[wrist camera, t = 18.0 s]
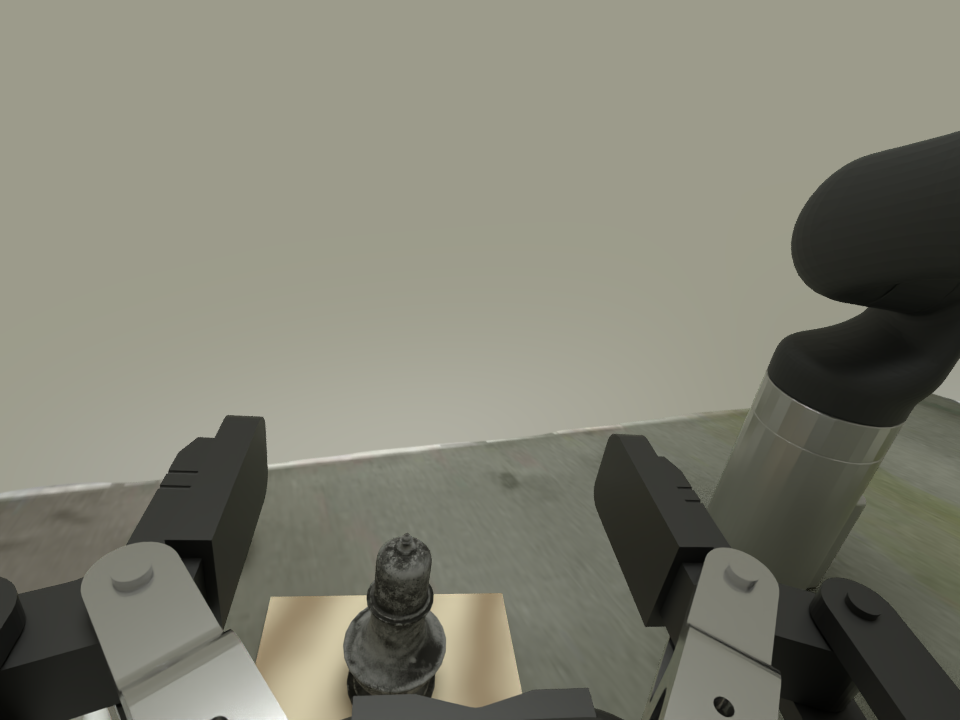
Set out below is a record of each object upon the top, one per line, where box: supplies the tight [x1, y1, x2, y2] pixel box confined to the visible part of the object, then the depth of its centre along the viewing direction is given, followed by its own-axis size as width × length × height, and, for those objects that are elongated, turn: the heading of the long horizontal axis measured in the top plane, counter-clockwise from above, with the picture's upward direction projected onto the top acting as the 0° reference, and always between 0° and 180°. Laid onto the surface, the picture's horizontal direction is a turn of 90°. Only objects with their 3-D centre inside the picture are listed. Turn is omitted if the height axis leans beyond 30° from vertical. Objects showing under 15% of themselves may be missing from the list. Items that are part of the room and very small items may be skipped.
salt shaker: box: [343, 533, 446, 705], centre depth 31 cm, size 6×6×12 cm
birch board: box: [255, 593, 522, 720], centre depth 34 cm, size 16×12×1 cm
